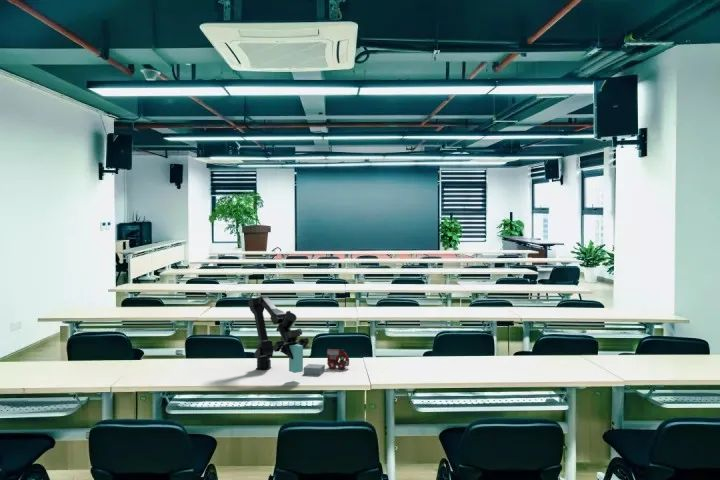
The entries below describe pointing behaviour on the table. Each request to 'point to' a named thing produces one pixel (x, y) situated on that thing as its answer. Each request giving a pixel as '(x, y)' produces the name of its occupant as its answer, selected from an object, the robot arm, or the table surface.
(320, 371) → the base brick
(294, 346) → the teal block
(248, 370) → the table surface
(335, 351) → the toy fire truck
